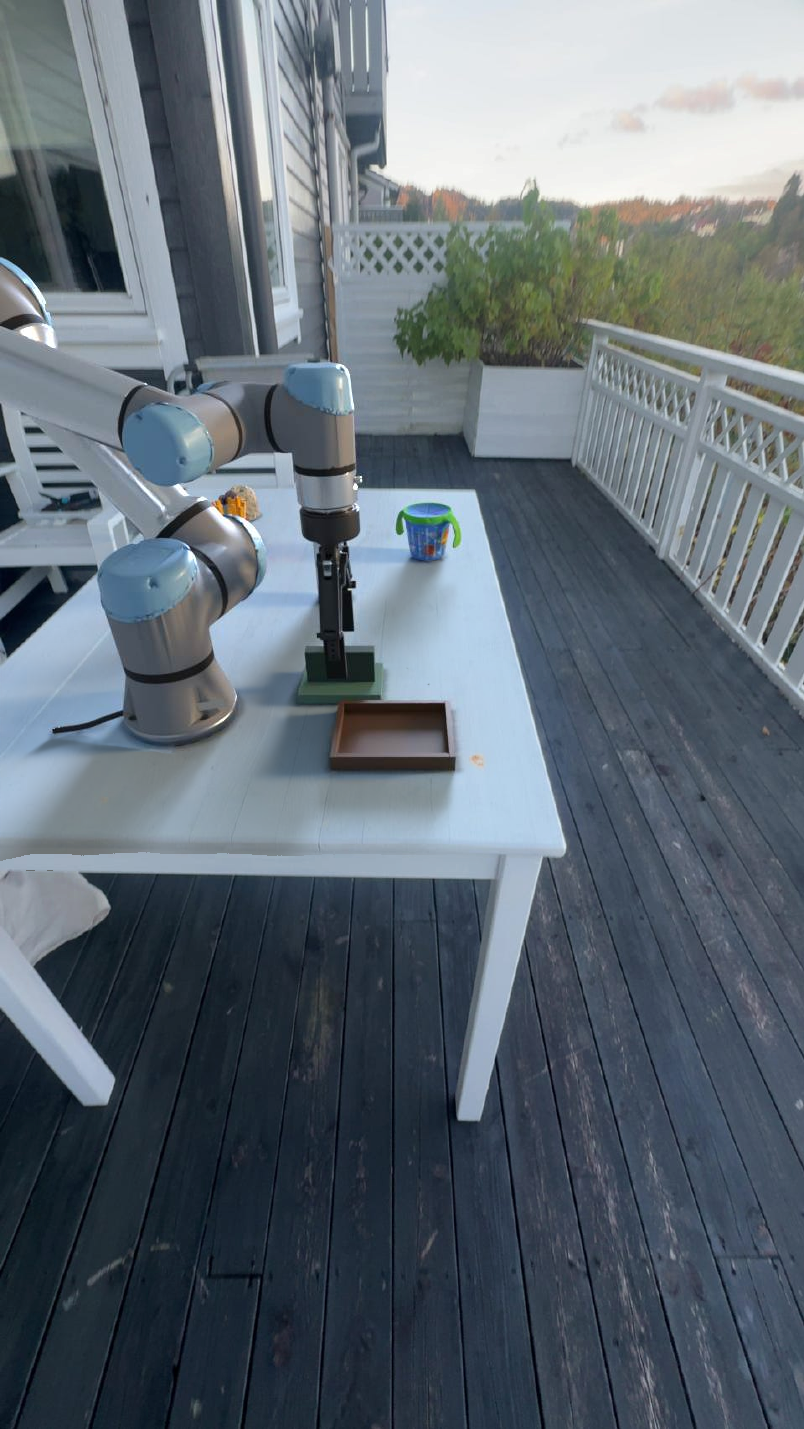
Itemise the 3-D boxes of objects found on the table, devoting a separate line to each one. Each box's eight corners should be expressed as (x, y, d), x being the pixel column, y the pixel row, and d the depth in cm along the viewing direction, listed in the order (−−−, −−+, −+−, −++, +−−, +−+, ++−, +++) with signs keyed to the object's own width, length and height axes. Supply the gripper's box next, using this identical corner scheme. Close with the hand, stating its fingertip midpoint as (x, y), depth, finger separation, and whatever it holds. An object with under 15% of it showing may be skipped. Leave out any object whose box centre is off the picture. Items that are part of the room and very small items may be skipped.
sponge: (261, 533, 162) (272, 495, 161) (236, 520, 153) (247, 480, 152) (235, 527, 166) (246, 490, 165) (209, 514, 157) (220, 475, 156)
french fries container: (255, 559, 136) (245, 494, 128) (256, 575, 129) (246, 507, 121) (221, 562, 135) (209, 496, 127) (221, 579, 128) (208, 510, 120)
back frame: (330, 770, 78) (329, 757, 77) (339, 712, 89) (338, 700, 87) (455, 770, 78) (455, 756, 77) (449, 712, 88) (450, 699, 87)
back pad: (298, 703, 90) (293, 665, 87) (306, 671, 98) (302, 634, 94) (381, 703, 90) (379, 664, 87) (383, 671, 98) (382, 634, 94)
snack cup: (384, 554, 138) (383, 507, 132) (416, 541, 145) (416, 496, 139) (439, 572, 130) (440, 523, 124) (470, 557, 136) (472, 510, 130)
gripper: (351, 538, 68) (362, 700, 80) (364, 477, 88) (371, 614, 101) (282, 539, 68) (304, 700, 80) (311, 478, 89) (325, 614, 101)
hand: (341, 652), depth 91 cm, fingers open, 13 cm apart
